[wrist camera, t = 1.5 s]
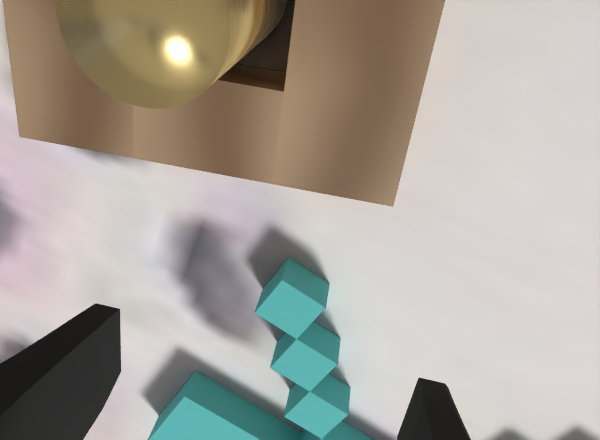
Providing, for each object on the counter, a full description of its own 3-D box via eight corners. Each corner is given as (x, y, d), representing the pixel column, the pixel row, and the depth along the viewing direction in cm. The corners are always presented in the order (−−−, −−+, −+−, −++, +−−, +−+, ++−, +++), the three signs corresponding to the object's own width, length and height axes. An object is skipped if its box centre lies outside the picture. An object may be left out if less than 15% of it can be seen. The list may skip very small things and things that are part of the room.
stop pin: (175, 36, 20) (62, 92, 13) (178, -87, 18) (47, -99, 11) (281, 55, 20) (224, 121, 13) (295, -68, 18) (237, -68, 11)
